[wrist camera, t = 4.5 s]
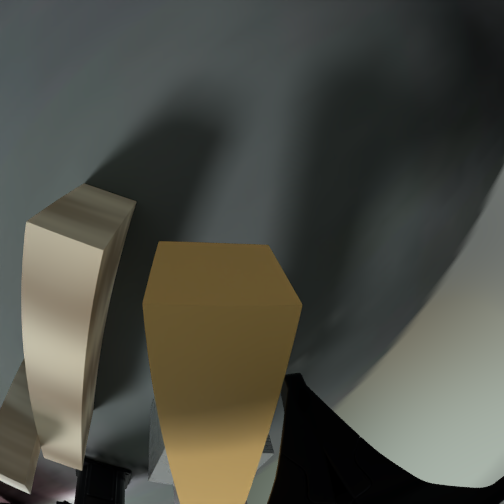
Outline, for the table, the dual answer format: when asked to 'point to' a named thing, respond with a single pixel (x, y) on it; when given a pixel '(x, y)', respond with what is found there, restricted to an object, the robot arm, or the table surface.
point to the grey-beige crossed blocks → (61, 329)
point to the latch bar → (217, 361)
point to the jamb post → (158, 456)
